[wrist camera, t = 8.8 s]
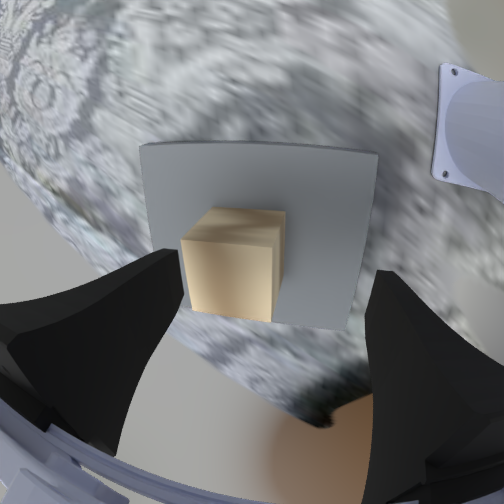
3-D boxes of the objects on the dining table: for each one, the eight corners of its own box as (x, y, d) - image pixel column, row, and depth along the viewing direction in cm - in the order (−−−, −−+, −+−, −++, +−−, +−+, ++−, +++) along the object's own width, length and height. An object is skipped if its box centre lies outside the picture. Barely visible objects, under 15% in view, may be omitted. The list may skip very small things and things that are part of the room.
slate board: (375, 152, 16) (378, 155, 15) (344, 321, 23) (344, 331, 22) (147, 143, 20) (138, 146, 19) (169, 295, 27) (164, 302, 26)
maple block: (285, 211, 19) (272, 247, 14) (283, 276, 21) (270, 322, 17) (212, 206, 20) (180, 239, 15) (218, 268, 22) (192, 310, 18)
